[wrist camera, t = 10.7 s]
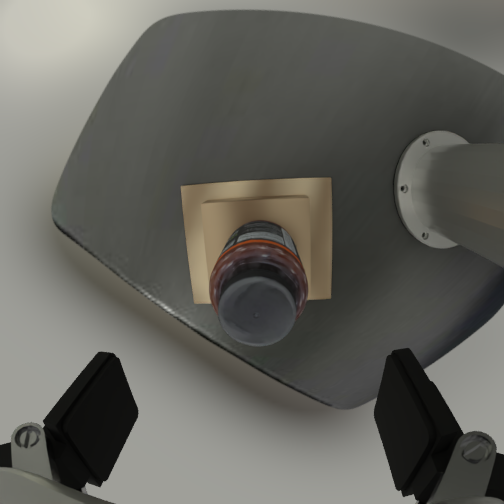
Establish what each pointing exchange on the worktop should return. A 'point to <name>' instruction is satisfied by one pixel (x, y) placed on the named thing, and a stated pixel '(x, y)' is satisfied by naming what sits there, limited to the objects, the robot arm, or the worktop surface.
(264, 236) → the supplement bottle
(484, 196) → the robot arm
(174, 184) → the worktop surface
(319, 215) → the oak base
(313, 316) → the worktop surface
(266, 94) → the worktop surface
